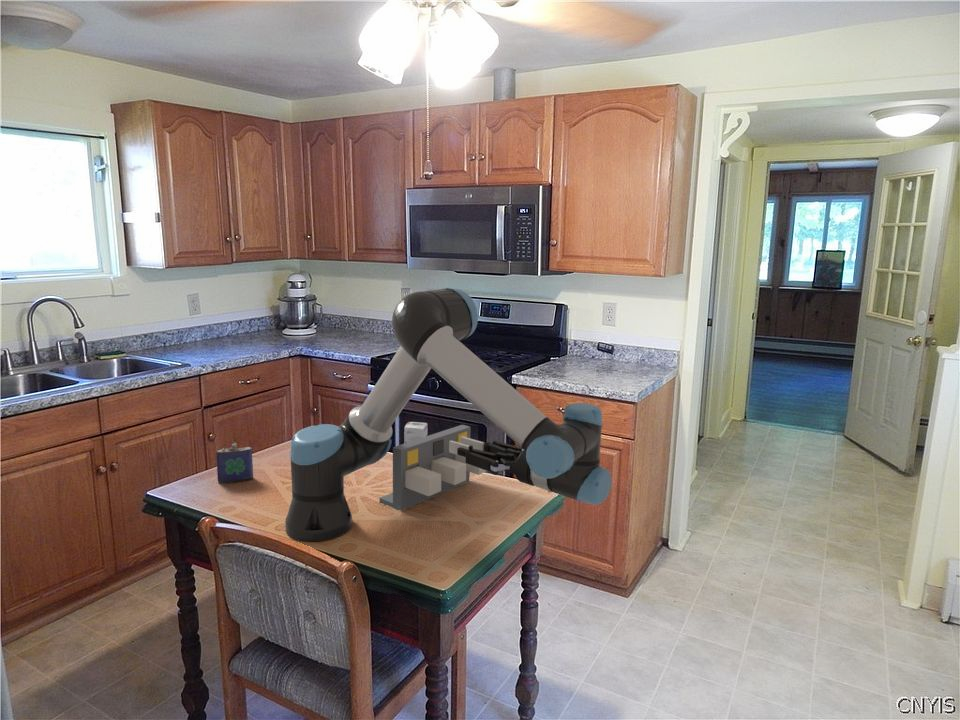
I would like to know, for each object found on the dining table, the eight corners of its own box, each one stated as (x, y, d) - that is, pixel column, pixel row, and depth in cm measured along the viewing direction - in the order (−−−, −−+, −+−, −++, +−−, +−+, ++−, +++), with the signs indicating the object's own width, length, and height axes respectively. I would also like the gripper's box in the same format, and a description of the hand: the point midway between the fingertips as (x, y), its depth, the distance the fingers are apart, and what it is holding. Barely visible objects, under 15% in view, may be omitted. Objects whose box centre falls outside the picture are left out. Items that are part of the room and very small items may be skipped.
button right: (478, 474, 168) (478, 459, 167) (449, 465, 174) (449, 449, 174) (488, 470, 171) (489, 454, 170) (459, 461, 178) (459, 446, 177)
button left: (428, 496, 153) (428, 479, 153) (398, 484, 160) (398, 468, 159) (441, 491, 157) (441, 474, 156) (411, 480, 163) (411, 463, 162)
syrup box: (427, 469, 187) (428, 421, 184) (423, 476, 181) (423, 428, 178) (408, 467, 188) (408, 420, 185) (403, 475, 182) (403, 426, 179)
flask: (253, 476, 178) (251, 440, 176) (253, 480, 176) (252, 443, 174) (217, 480, 175) (215, 443, 173) (217, 484, 172) (215, 447, 170)
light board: (402, 511, 158) (402, 450, 155) (379, 502, 163) (379, 442, 160) (470, 481, 178) (471, 427, 175) (448, 474, 183) (449, 421, 180)
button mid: (454, 485, 161) (455, 468, 160) (424, 474, 167) (425, 458, 166) (466, 480, 164) (466, 464, 163) (436, 470, 171) (436, 454, 170)
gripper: (515, 497, 128) (431, 468, 143) (559, 475, 141) (477, 450, 155) (517, 462, 127) (431, 436, 141) (561, 442, 139) (478, 421, 154)
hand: (456, 444), depth 148 cm, fingers open, 3 cm apart
